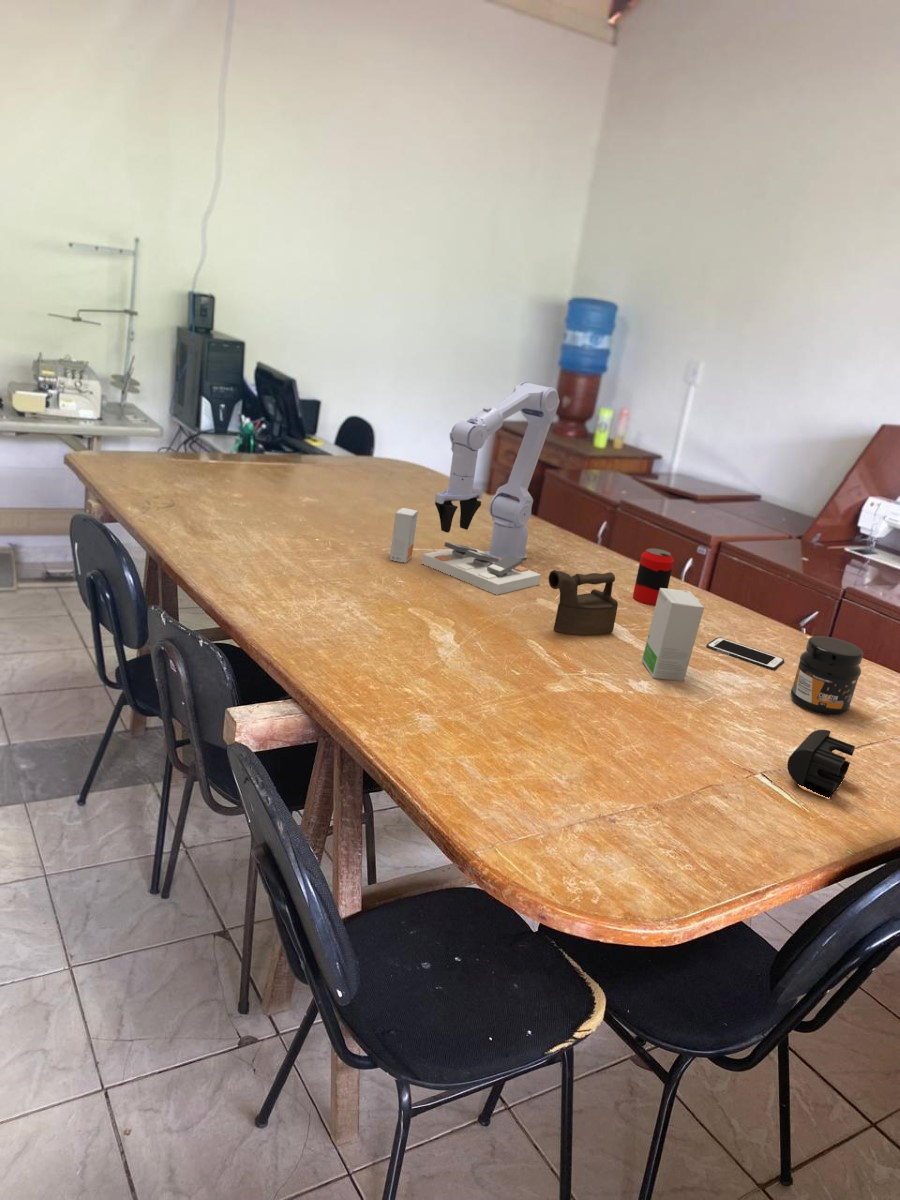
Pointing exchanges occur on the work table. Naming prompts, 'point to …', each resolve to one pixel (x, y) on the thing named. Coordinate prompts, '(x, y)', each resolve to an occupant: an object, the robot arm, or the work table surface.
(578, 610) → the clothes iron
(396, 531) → the skincare box
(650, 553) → the soda can
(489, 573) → the console
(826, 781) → the end cap
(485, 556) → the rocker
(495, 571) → the block
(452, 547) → the block
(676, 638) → the skincare box
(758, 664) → the cell phone
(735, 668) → the work table surface
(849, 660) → the supplement container
